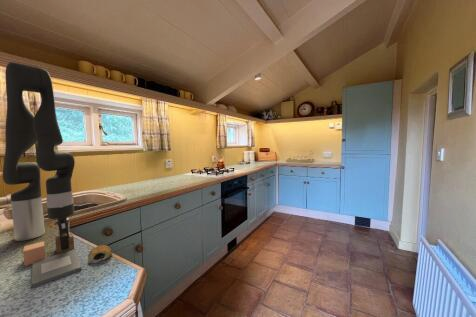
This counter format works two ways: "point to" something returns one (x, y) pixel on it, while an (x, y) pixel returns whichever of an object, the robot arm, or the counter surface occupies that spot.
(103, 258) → the pastry
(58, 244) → the walnut block
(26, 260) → the terracotta block
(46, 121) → the robot arm
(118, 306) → the counter surface
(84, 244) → the counter surface
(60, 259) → the plate
